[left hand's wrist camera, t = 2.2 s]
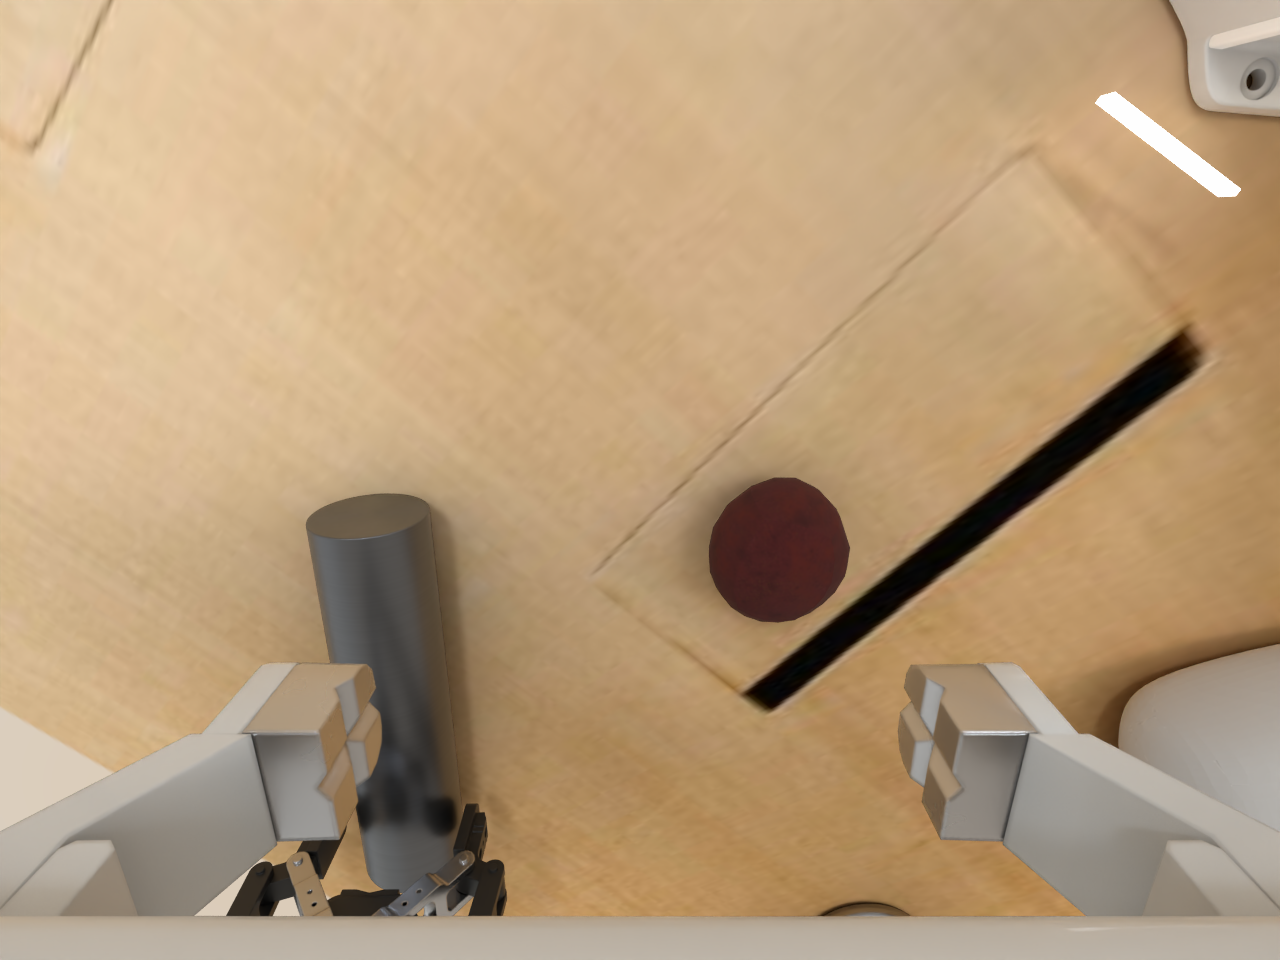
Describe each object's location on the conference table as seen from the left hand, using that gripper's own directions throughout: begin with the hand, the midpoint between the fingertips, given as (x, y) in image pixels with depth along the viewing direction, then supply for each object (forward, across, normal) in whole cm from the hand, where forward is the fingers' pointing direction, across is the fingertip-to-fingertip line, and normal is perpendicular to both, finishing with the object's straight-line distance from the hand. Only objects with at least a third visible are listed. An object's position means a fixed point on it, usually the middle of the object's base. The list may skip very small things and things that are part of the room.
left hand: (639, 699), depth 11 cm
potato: (+28, +7, -9) cm, 31 cm away
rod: (+28, -14, -20) cm, 37 cm away
